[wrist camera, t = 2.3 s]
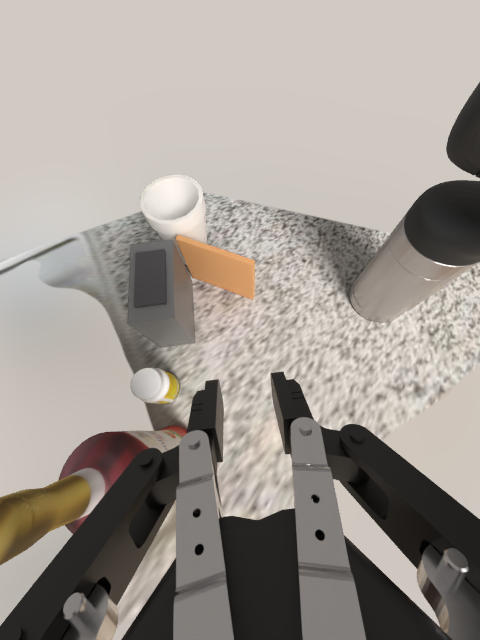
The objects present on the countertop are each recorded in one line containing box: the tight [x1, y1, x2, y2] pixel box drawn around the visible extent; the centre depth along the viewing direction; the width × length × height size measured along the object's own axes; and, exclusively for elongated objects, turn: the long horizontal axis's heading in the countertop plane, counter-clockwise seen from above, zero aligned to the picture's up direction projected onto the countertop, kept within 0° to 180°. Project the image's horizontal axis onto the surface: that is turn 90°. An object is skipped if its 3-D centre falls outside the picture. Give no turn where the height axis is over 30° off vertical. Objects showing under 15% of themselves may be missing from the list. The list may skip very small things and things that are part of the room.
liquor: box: [0, 426, 187, 565], centre depth 24 cm, size 7×7×28 cm
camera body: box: [127, 239, 195, 347], centre depth 39 cm, size 6×12×13 cm, turn 7°
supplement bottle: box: [131, 368, 181, 404], centre depth 37 cm, size 5×5×8 cm
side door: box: [176, 235, 255, 300], centre depth 41 cm, size 1×12×11 cm, turn 66°
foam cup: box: [140, 175, 207, 265], centre depth 44 cm, size 10×9×13 cm
